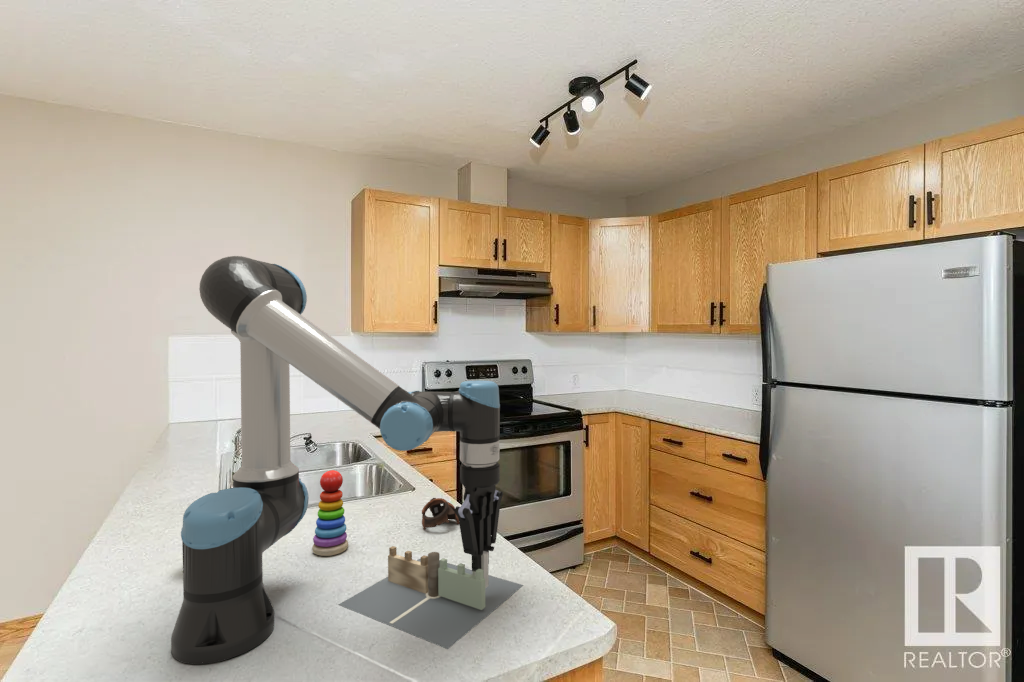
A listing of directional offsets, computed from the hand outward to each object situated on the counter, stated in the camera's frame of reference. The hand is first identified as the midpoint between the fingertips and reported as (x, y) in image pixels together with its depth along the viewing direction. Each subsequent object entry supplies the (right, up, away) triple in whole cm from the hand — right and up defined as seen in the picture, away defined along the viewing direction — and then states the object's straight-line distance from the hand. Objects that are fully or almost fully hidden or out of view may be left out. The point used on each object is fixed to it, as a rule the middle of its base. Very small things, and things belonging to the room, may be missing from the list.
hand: (480, 585), depth 97 cm
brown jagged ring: (-13, -3, +38) cm, 41 cm away
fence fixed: (-13, -2, +4) cm, 14 cm away
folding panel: (-3, -2, -2) cm, 4 cm away
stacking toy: (-37, -3, +23) cm, 43 cm away
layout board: (-9, -3, +1) cm, 10 cm away
